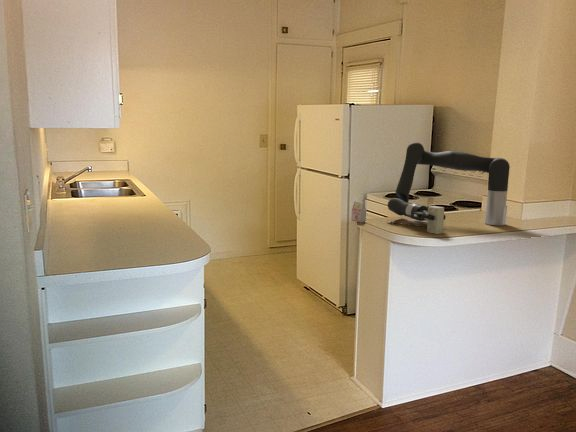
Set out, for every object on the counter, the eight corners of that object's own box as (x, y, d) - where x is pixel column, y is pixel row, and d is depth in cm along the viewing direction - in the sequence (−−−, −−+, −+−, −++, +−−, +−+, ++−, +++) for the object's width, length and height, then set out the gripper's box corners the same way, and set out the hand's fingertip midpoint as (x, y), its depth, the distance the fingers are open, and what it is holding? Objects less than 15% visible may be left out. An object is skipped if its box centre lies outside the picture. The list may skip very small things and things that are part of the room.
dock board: (441, 224, 256) (441, 220, 256) (432, 228, 247) (432, 223, 247) (404, 219, 268) (404, 215, 268) (394, 222, 259) (394, 218, 259)
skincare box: (443, 233, 235) (445, 207, 233) (436, 234, 233) (438, 208, 231) (432, 230, 241) (434, 205, 238) (426, 231, 238) (427, 206, 236)
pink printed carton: (356, 219, 266) (357, 200, 264) (365, 222, 261) (366, 202, 259) (351, 220, 264) (352, 201, 262) (360, 222, 258) (361, 203, 257)
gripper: (404, 204, 245) (426, 210, 230) (429, 203, 251) (452, 209, 235) (404, 220, 246) (425, 226, 231) (428, 218, 252) (451, 225, 236)
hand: (439, 217), depth 233 cm, fingers open, 5 cm apart
